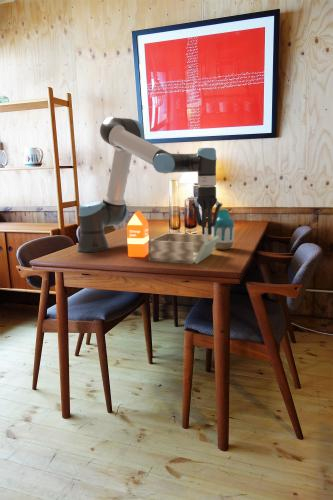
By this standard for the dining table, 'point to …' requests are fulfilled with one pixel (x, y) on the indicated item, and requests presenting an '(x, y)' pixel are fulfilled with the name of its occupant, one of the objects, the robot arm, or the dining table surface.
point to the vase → (224, 230)
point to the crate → (175, 247)
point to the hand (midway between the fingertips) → (206, 242)
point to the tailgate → (206, 249)
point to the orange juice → (137, 236)
